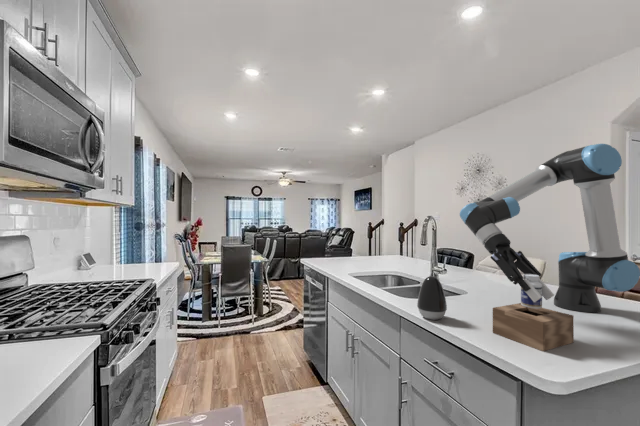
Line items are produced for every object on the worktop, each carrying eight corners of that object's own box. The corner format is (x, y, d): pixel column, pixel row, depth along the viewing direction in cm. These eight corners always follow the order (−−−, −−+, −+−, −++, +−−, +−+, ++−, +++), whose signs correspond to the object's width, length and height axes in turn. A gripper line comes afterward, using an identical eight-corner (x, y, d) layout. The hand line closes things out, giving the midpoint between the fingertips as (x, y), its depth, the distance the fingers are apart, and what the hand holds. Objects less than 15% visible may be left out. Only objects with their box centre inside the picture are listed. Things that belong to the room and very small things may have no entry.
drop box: (522, 326, 106) (522, 302, 106) (573, 342, 92) (573, 315, 92) (492, 332, 99) (492, 307, 99) (543, 351, 86) (542, 322, 86)
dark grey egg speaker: (445, 314, 117) (446, 274, 118) (447, 323, 108) (447, 279, 108) (417, 312, 121) (417, 272, 121) (416, 320, 111) (417, 277, 111)
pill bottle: (516, 304, 98) (516, 273, 98) (532, 303, 99) (532, 273, 99) (529, 309, 93) (529, 276, 93) (546, 308, 93) (546, 276, 93)
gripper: (503, 245, 114) (552, 302, 99) (468, 247, 106) (515, 308, 91) (517, 232, 109) (572, 288, 94) (481, 232, 101) (534, 294, 86)
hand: (544, 298), depth 92 cm, fingers closed on pill bottle, 5 cm apart
